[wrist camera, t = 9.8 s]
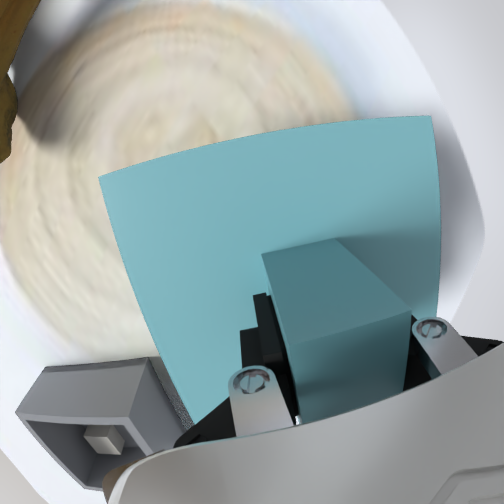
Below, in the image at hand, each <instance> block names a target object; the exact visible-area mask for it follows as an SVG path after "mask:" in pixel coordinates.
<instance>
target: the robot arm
mask: <svg viewBox="0 0 504 504" xmlns="http://www.w3.org/2000/svg"><path fill="white" fill-rule="evenodd" d="M253 301H254V307H255V313H256V319H257V325H258V327H254V328H249V329H244V330H240V346H241V360H242V369H240V370H239V371H237V372H235V373H234V374H233V375H232V376H231V377H230V379H229V381H228V390H229V397H228V398H227V399H225V400H224V401H223V402H222V403H221V404H219V405H218V406H217V407H216V408H215V409H214V410H212V411H211V412H210V413H209V414H207V415H206V416H205V417H204V418H203V419H201V420H200V421H199V422H198V423H196V424H195V425H194V426H193V427H191V428H190V429H189V430H188V431H186V432H185V433H184V434H183V435H181V436H180V437H179V438H178V439H177V440H176V442H175V444H174V446H173V449H170V450H166V451H165V450H164V449H162V450H160V451H158V452H155V453H153V454H151V455H148V456H146V457H143V458H141V459H138V460H136V461H133V462H131V463H128V464H126V465H123V466H120V467H118V468H115V469H113V470H111V471H109V472H108V473H107V474H106V475H105V476H104V479H103V481H102V489H103V492H104V496H105V499H106V502H107V504H504V342H502V341H498V340H492V339H483V338H475V337H466V336H460V335H459V334H458V332H457V331H456V330H455V329H454V328H453V327H452V326H451V325H450V323H448V322H447V321H446V320H444V319H442V318H439V317H425V318H421V319H419V320H417V319H416V318H415V317H414V316H413V315H412V314H411V327H410V339H409V348H408V357H407V365H406V373H405V380H404V386H403V392H401V393H398V394H396V395H393V396H390V397H388V398H385V399H382V400H379V401H377V402H374V403H371V404H368V405H365V406H362V407H359V408H356V409H352V410H349V411H346V412H343V413H340V414H336V415H333V416H329V417H326V418H322V419H318V420H314V421H311V422H307V423H303V424H298V425H296V418H295V416H299V415H298V409H297V404H296V398H295V393H294V387H293V382H292V376H291V371H290V365H289V360H288V355H287V351H286V347H285V343H284V340H283V336H282V333H281V329H280V326H279V322H278V319H277V315H276V312H275V309H274V305H273V302H272V298H271V295H268V296H267V294H266V292H265V293H260V294H256V295H253Z"/></svg>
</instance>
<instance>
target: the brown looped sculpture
mask: <svg viewBox="0 0 504 504" xmlns="http://www.w3.org/2000/svg"><path fill="white" fill-rule="evenodd" d="M40 1H41V0H0V163H2V162H3V161H4V160H5V159H6V158H8V157H9V156H10V154H11V141H12V129H11V127H12V124H13V123H14V120H15V117H16V114H17V95H16V91H15V88H14V86H13V83H12V81H11V79H10V77H9V76H8V74H7V72H8V70H9V68H10V65H11V63H12V61H13V59H14V56H15V53H16V51H17V48H18V46H19V43H20V41H21V38H22V36H23V34H24V31H25V29H26V27H27V25H28V23H29V21H30V19H31V18H32V16H33V14H34V12H35V10H36V8H37V6H38V4H39V2H40Z"/></svg>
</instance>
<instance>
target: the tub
mask: <svg viewBox="0 0 504 504" xmlns="http://www.w3.org/2000/svg"><path fill="white" fill-rule="evenodd" d="M15 413H16V415H17V416H18V417H19V419H20V420H21V421H22V423H23V424H24V425H25V426H26V428H27V429H28V430H29V431H30V433H31V434H32V435H33V436H34V437H35V439H36V440H37V441H38V442H39V443H40V444H41V445H42V447H43V448H44V449H45V450H46V451H47V452H48V453H49V454H50V455H51V457H52V458H53V459H54V460H55V461H56V462H57V463H58V464H59V465H60V466H61V467H62V468H63V469H64V470H65V471H66V472H67V473H68V474H69V475H70V476H71V477H72V478H73V479H74V480H75V481H76V482H77V483H79V484H80V485H81V486H82V487H83V488H84V489H89V490H96V491H103V489H102V481H103V479H104V476H105V475H106V474H107V473H108V472H109V471H111V470H113V469H115V468H118V467H120V466H123V465H126V464H128V463H131V462H133V461H136V460H138V459H141V458H143V457H146V456H148V455H151V454H153V453H155V452H158V451H160V450H162V449H164V450H165V451H166V450H170V449H173V446H174V444H175V442H176V440H177V439H178V438H179V437H180V436H181V435H183V434H184V433H185V432H186V430H185V428H184V426H183V424H182V423H181V421H180V419H179V417H178V415H177V414H176V412H175V410H174V408H173V406H172V404H171V403H170V401H169V399H168V397H167V395H166V393H165V391H164V389H163V387H162V385H161V383H160V381H159V379H158V377H157V375H156V373H155V371H154V369H153V367H152V365H151V363H150V360H149V358H148V357H146V358H139V359H131V360H122V361H113V362H104V363H93V364H82V365H69V366H54V367H45V368H44V370H43V371H42V372H41V374H40V375H39V377H38V378H37V380H36V381H35V383H34V384H33V385H32V387H31V388H30V390H29V391H28V393H27V394H26V396H25V397H24V399H23V400H22V402H21V403H20V405H19V407H18V408H17V410H16V411H15Z"/></svg>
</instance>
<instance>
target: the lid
mask: <svg viewBox="0 0 504 504" xmlns="http://www.w3.org/2000/svg"><path fill="white" fill-rule="evenodd" d="M98 178H99V182H100V186H101V190H102V193H103V197H104V201H105V205H106V208H107V212H108V215H109V219H110V222H111V225H112V229H113V232H114V235H115V238H116V242H117V245H118V248H119V251H120V254H121V257H122V260H123V263H124V266H125V268H126V271H127V274H128V277H129V280H130V283H131V285H132V288H133V291H134V293H135V296H136V299H137V301H138V304H139V306H140V309H141V311H142V314H143V316H144V319H145V321H146V324H147V326H148V329H149V331H150V333H151V336H152V338H153V340H154V343H155V345H156V347H157V349H158V352H159V354H160V356H161V358H162V360H163V363H164V365H165V367H166V369H167V371H168V373H169V375H170V377H171V380H172V382H173V384H174V386H175V388H176V390H177V392H178V394H179V396H180V398H181V400H182V402H183V404H184V405H185V407H186V409H187V411H188V413H189V415H190V417H191V419H192V420H193V422H194V424H196V423H198V422H199V421H200V420H201V419H203V418H204V417H205V416H206V415H207V414H209V413H210V412H211V411H212V410H214V409H215V408H216V407H217V406H218V405H219V404H221V403H222V402H223V401H224V400H225V399H227V398H228V397H229V390H228V381H229V379H230V377H231V376H232V375H233V374H234V373H235V372H237V371H239V370H240V369H242V360H241V346H240V330H244V329H249V328H254V327H258V325H257V319H256V313H255V307H254V301H253V295H256V294H260V293H265V292H266V294H267V296H268V295H271V298H272V302H273V305H274V309H275V312H276V315H277V319H278V322H279V326H280V329H281V333H282V336H283V340H284V343H285V347H286V351H287V355H288V360H289V365H290V371H291V376H292V382H293V387H294V393H295V398H296V404H297V409H298V415H299V416H297V417H298V421H299V424H303V423H307V422H311V421H314V420H318V419H322V418H326V417H329V416H333V415H336V414H340V413H343V412H346V411H349V410H352V409H356V408H359V407H362V406H365V405H368V404H371V403H374V402H377V401H379V400H382V399H385V398H388V397H390V396H393V395H396V394H398V393H401V392H403V386H404V380H405V373H406V365H407V357H408V348H409V339H410V327H411V314H412V315H413V316H414V317H415V318H416V319H417V320H419V319H421V318H425V317H436V313H437V304H438V293H439V279H440V257H441V211H440V190H439V176H438V165H437V155H436V147H435V139H434V132H433V125H432V119H431V116H406V117H388V118H375V119H363V120H353V121H343V122H334V123H326V124H319V125H311V126H304V127H298V128H291V129H285V130H279V131H273V132H268V133H262V134H257V135H252V136H247V137H242V138H237V139H232V140H228V141H223V142H219V143H214V144H210V145H206V146H202V147H198V148H194V149H190V150H186V151H182V152H178V153H174V154H171V155H167V156H163V157H160V158H156V159H153V160H149V161H146V162H143V163H139V164H136V165H133V166H130V167H127V168H123V169H120V170H117V171H114V172H111V173H108V174H105V175H102V176H100V177H98Z"/></svg>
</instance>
